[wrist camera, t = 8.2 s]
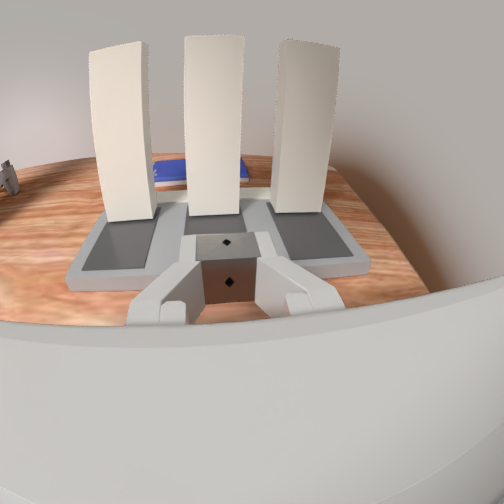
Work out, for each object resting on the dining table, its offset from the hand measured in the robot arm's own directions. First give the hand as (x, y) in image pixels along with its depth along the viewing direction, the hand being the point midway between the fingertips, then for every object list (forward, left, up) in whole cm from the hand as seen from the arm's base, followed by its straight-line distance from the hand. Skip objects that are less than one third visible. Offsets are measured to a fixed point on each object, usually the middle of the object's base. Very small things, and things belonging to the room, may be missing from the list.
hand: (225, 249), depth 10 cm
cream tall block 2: (-4, +14, -5) cm, 15 cm away
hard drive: (-21, +18, -7) cm, 28 cm away
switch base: (-8, +8, -6) cm, 13 cm away
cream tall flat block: (-9, +9, -5) cm, 14 cm away
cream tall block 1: (-14, +4, -5) cm, 15 cm away
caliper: (-52, -9, -7) cm, 53 cm away
